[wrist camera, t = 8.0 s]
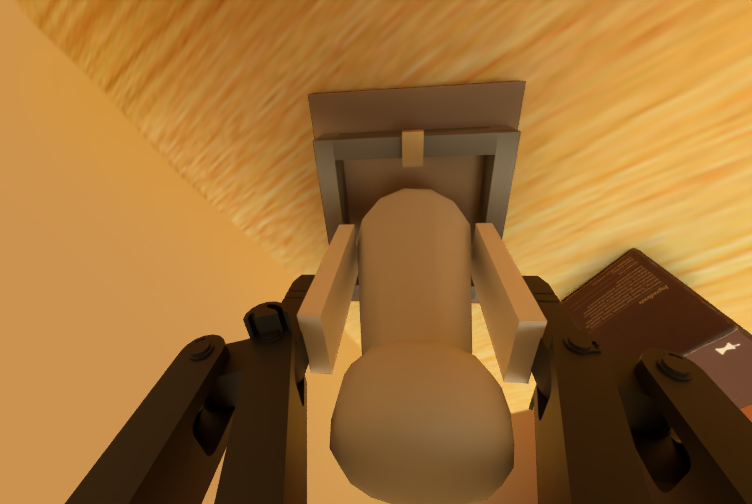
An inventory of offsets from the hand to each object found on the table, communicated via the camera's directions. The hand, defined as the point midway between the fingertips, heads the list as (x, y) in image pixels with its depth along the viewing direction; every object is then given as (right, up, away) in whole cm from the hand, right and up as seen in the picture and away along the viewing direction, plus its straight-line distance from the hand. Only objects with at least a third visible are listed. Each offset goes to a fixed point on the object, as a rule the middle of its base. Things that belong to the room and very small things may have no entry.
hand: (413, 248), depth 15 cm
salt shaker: (0, +2, +3) cm, 3 cm away
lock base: (+1, +3, +5) cm, 5 cm away
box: (+16, -3, +7) cm, 18 cm away
